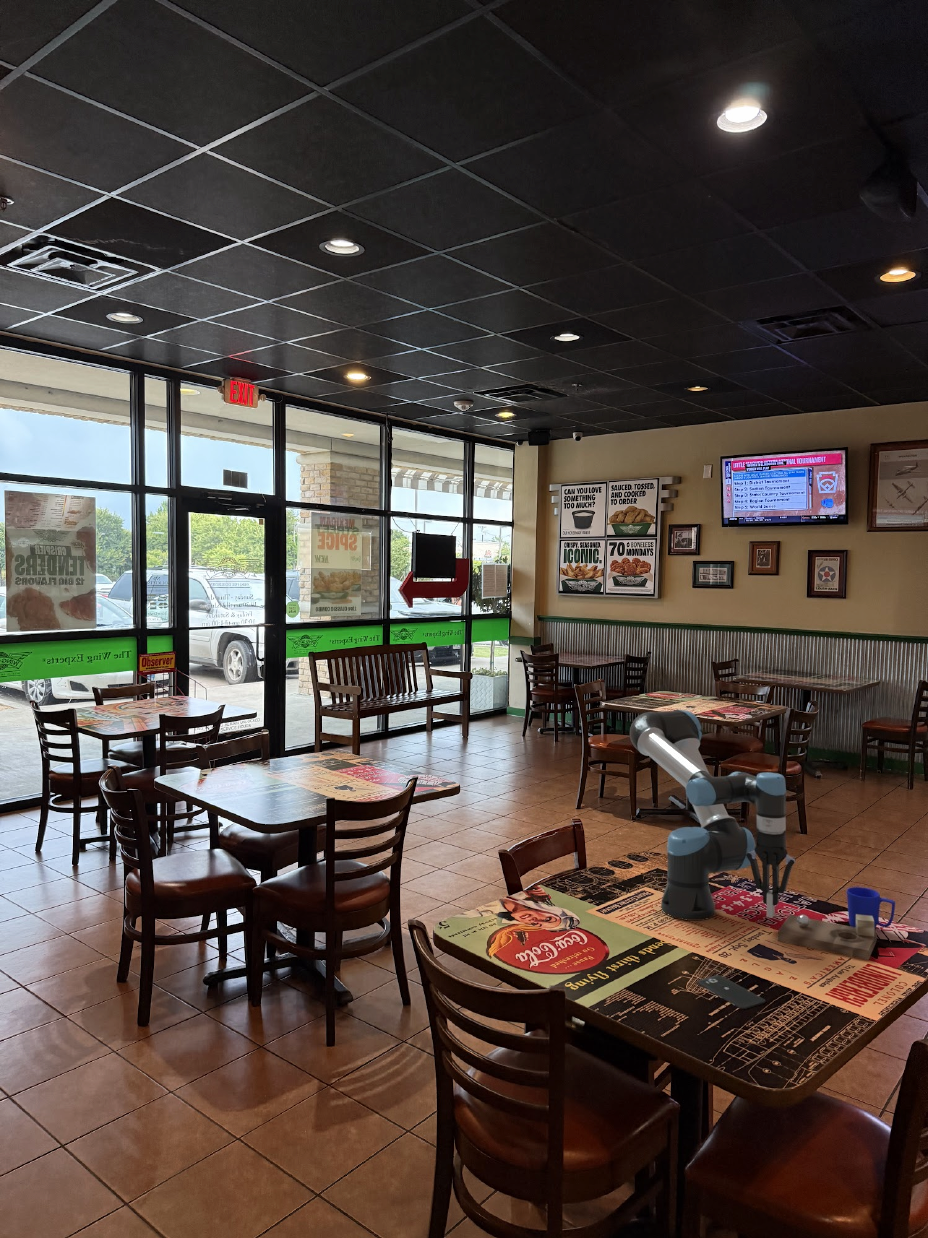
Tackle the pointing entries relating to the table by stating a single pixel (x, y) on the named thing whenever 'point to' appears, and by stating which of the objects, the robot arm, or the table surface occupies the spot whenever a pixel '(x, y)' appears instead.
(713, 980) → the smartphone
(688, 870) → the robot arm
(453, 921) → the table surface
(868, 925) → the maple cube
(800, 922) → the ball
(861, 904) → the mug
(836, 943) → the deck
